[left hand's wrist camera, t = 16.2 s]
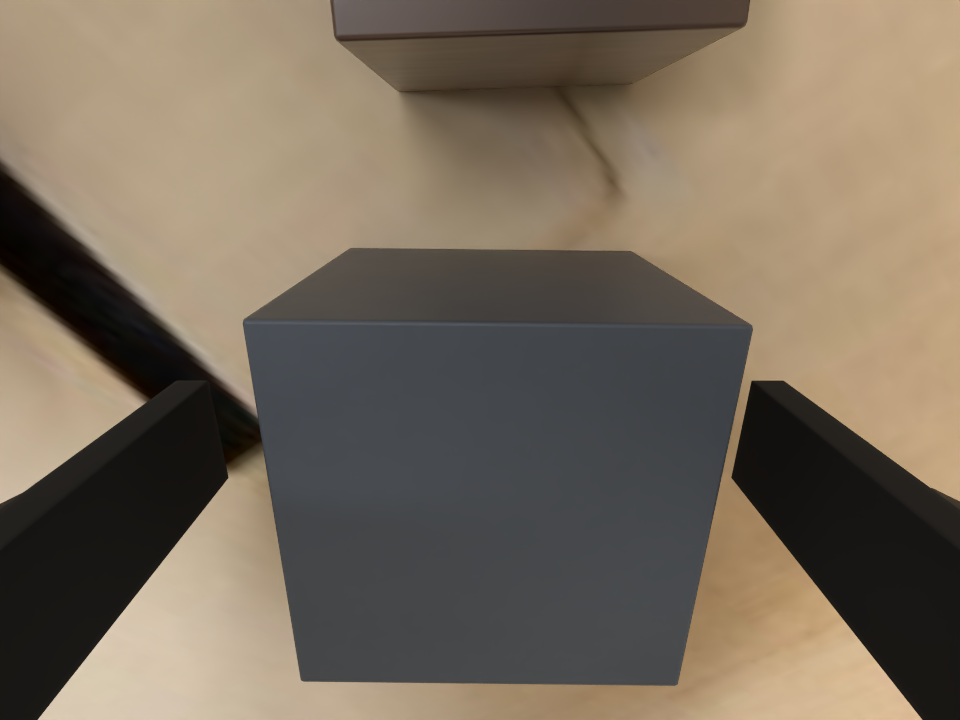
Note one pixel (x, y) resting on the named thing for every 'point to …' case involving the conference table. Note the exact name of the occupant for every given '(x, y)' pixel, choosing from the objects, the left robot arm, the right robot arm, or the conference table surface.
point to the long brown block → (527, 39)
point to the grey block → (493, 462)
